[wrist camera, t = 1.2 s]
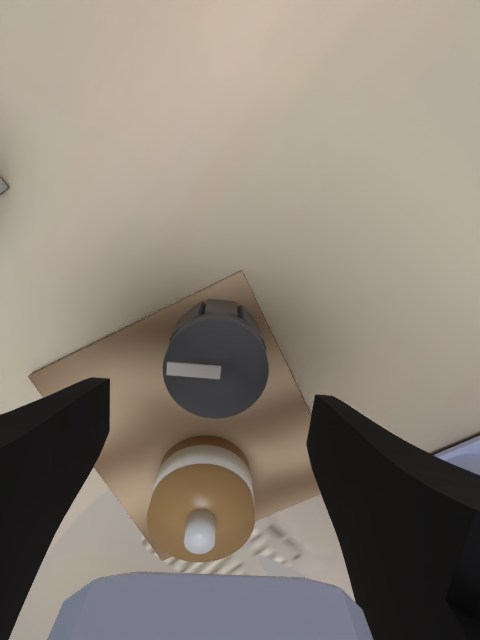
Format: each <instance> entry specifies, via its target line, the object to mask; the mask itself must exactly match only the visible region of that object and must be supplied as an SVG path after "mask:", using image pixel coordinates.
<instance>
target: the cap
mask: <svg viewBox="0 0 480 640" xmlns="http://www.w3.org/2000/svg"><path fill="white" fill-rule="evenodd" d="M264 342H265V341H264V339H263V336H262V333H261V330H260V328H259V325H258V324H257V323H256V321H255V320H254V319H253V318H252V317H251V315H250V314H249V313H248V312H247V311H246V309H245V308H244V307H243V306H242V304H241V305H240V306H239V307H238V308H237V305H236V301H226V300H216V299H208V300H207V304H206V305H205V304H204V302H203V301H201V302H199V303H198V304H197V305H196V306H195V307H193V308H192V309H191V310H190V311H188V312H187V313H186V314H185V315H183V316H182V317H181V318H180V320H179V322H178V324H177V326H176V327H175V329H174V331H173V333H172V335H171V337H170V339H169V347H168V349H167V351H166V354H165V357H164V361H163V378H164V382H165V386H166V388H167V390H168V392H169V394H170V395H171V397H172V398H173V399H174V400H175V402H176V403H177V404H178V405H180V406H181V407H182V408H183V409H185V410H186V411H188V412H190V413H192V414H194V415H197V416H200V417H204V418H211V419H220V418H227V417H231V416H234V415H237V414H239V413H241V412H243V411H245V410H246V409H248V408H249V407H251V406H252V405H253V404H254V403H255V402H256V401H257V400H258V399H259V397H260V396H261V394H262V393H263V391H264V389H265V387H266V384H267V380H268V375H269V365H268V359H267V355H266V349H267V348H266V345H265V343H264Z"/></svg>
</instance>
